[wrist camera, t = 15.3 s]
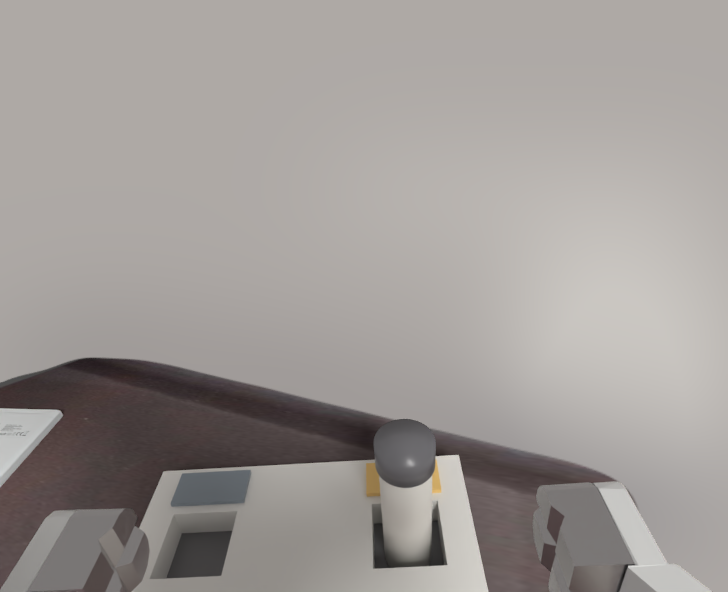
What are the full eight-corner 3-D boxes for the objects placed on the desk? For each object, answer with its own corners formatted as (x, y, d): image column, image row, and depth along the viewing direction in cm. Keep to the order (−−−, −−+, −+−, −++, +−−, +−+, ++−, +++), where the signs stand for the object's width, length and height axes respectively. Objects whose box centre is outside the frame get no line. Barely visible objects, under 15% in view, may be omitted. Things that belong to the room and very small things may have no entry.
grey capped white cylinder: (383, 579, 36) (374, 467, 30) (381, 530, 39) (372, 420, 33) (437, 577, 36) (439, 464, 30) (430, 527, 39) (431, 417, 33)
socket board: (115, 639, 34) (98, 613, 32) (172, 493, 45) (162, 468, 43) (487, 623, 33) (490, 596, 32) (457, 478, 44) (458, 451, 42)
